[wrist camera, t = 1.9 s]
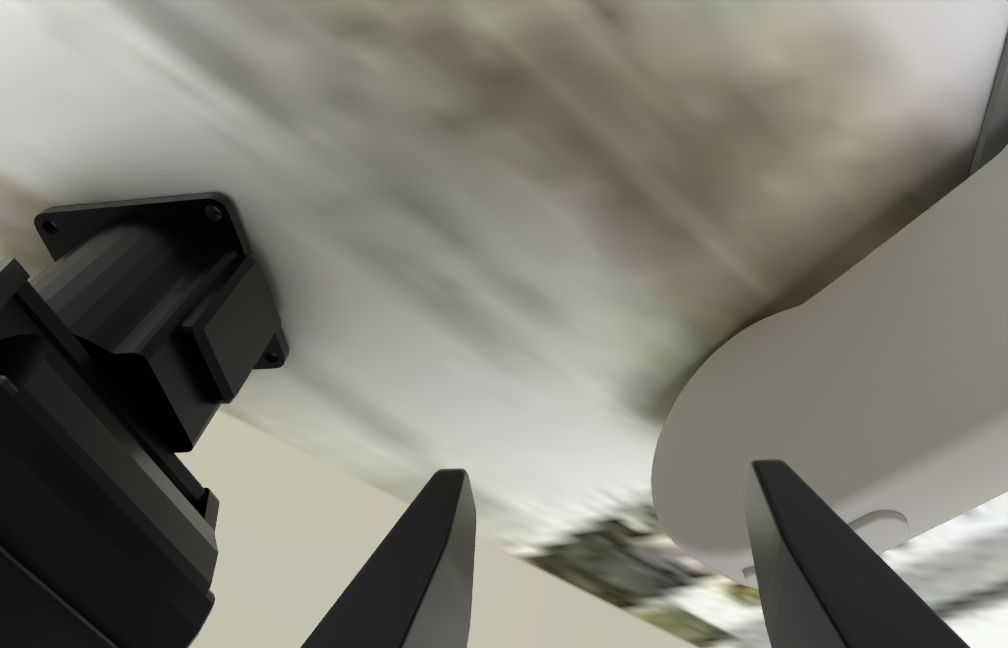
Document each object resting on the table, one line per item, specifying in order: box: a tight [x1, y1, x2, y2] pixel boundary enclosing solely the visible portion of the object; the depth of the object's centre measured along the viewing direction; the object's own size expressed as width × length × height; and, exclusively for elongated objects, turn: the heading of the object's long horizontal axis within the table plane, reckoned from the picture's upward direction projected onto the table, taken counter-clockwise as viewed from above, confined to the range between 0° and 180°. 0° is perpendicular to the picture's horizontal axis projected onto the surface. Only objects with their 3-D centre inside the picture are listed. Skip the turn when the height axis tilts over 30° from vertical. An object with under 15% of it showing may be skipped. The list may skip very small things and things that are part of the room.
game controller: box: [651, 144, 1008, 589], centre depth 16 cm, size 20×2×8 cm, turn 143°
